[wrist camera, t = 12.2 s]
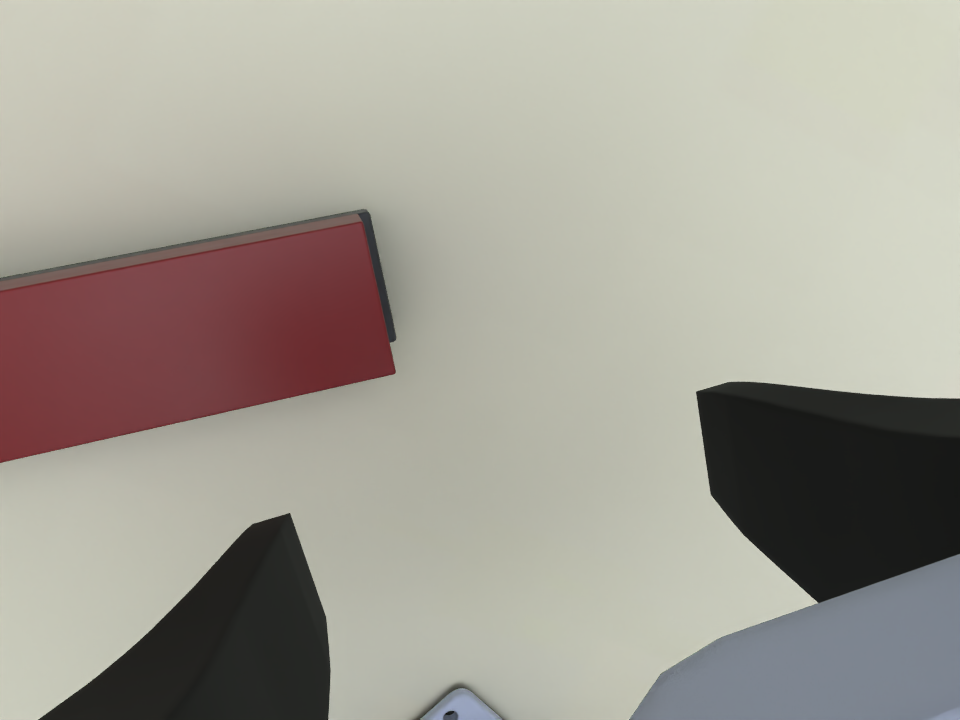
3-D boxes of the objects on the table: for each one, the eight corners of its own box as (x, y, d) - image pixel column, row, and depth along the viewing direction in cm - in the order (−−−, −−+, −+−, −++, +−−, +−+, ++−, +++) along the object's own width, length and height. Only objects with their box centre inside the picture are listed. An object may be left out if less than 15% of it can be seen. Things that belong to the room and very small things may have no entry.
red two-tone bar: (366, 206, 20) (378, 218, 15) (393, 331, 21) (413, 385, 16) (-138, 301, 18) (-330, 355, 13) (-80, 433, 19) (-236, 533, 14)
